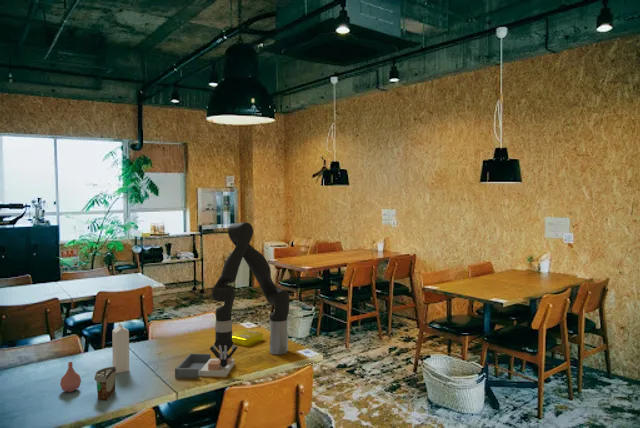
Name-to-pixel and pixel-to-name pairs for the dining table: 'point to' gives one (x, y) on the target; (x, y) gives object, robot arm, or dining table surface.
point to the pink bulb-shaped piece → (70, 379)
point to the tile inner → (227, 360)
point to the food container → (105, 382)
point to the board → (221, 372)
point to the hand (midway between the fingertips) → (223, 366)
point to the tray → (191, 366)
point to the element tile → (246, 337)
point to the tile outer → (214, 365)
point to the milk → (120, 348)
